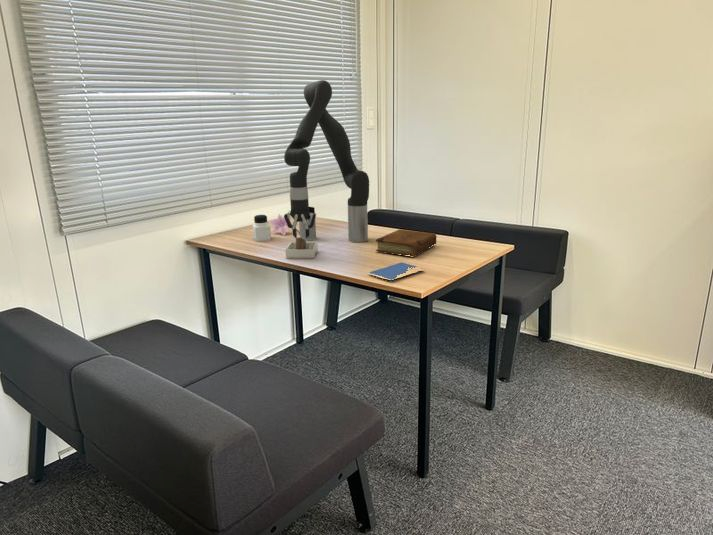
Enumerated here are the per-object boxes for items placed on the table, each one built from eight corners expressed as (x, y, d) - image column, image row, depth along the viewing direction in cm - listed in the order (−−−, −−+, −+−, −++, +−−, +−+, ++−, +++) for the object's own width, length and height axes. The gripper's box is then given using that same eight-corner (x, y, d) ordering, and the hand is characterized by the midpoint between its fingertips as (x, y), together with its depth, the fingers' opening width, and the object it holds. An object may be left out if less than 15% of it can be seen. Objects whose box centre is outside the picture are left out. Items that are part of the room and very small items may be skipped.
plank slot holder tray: (317, 250, 224) (317, 242, 223) (314, 258, 213) (313, 249, 211) (290, 250, 225) (290, 242, 223) (285, 258, 213) (285, 249, 212)
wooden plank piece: (301, 248, 209) (306, 251, 221) (301, 237, 210) (306, 241, 222) (295, 248, 209) (300, 251, 221) (295, 237, 210) (300, 241, 222)
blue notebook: (401, 264, 204) (401, 261, 204) (425, 271, 196) (425, 268, 195) (367, 275, 192) (367, 272, 191) (391, 283, 183) (391, 279, 183)
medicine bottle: (271, 240, 243) (269, 215, 239) (256, 242, 240) (254, 217, 237) (267, 237, 249) (266, 213, 246) (253, 238, 247) (251, 214, 243)
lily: (266, 232, 258) (264, 218, 251) (285, 223, 264) (283, 208, 257) (281, 244, 252) (279, 229, 245) (299, 233, 258) (298, 219, 251)
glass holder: (314, 241, 240) (312, 210, 235) (285, 240, 243) (283, 209, 238) (319, 236, 248) (318, 206, 244) (291, 235, 251) (289, 206, 246)
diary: (414, 258, 212) (414, 244, 211) (375, 252, 222) (375, 239, 220) (436, 245, 231) (436, 233, 229) (399, 240, 240) (399, 228, 239)
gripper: (317, 195, 214) (318, 235, 219) (284, 196, 215) (286, 235, 220) (315, 199, 207) (316, 239, 212) (280, 199, 208) (283, 239, 213)
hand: (301, 237), depth 216 cm, fingers open, 4 cm apart
